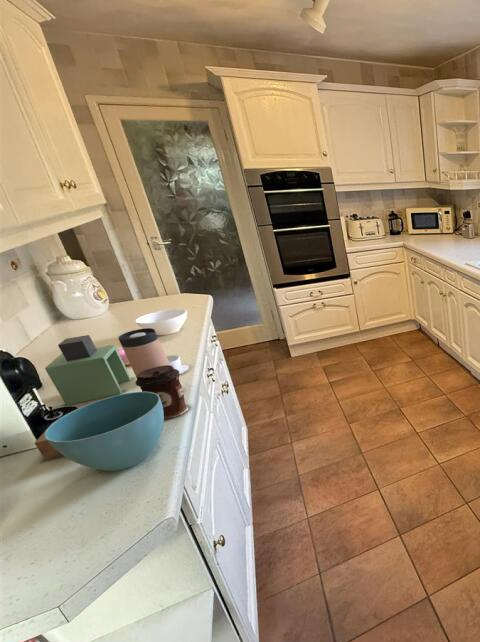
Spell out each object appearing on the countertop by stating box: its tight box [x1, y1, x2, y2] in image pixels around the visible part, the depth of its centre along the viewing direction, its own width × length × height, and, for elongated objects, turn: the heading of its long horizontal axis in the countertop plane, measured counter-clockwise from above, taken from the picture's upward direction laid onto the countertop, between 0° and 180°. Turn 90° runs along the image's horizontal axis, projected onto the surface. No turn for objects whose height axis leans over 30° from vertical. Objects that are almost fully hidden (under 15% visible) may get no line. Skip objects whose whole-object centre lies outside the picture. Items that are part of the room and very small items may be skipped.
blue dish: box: [44, 391, 165, 472], centre depth 87 cm, size 18×18×12 cm
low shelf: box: [34, 421, 65, 461], centre depth 95 cm, size 12×9×5 cm
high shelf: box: [44, 344, 132, 406], centre depth 115 cm, size 12×10×12 cm
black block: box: [57, 334, 97, 361], centre depth 112 cm, size 5×5×5 cm
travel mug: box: [118, 328, 170, 379], centre depth 110 cm, size 8×8×20 cm
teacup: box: [166, 354, 190, 375], centre depth 126 cm, size 10×10×5 cm
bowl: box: [135, 308, 188, 336], centre depth 158 cm, size 16×16×7 cm
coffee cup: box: [135, 365, 189, 420], centre depth 104 cm, size 9×8×13 cm
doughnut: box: [117, 348, 131, 366], centre depth 136 cm, size 11×11×4 cm
